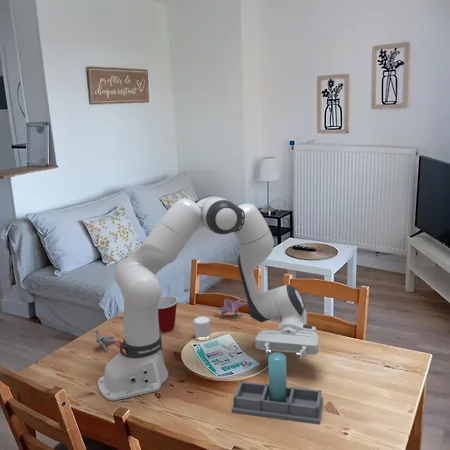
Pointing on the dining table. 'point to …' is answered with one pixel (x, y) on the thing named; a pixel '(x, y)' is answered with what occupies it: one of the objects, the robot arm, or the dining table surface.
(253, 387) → the cup rack
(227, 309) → the lily
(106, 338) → the grey humanoid figurine
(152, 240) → the robot arm
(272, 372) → the teal cylinder
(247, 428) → the dining table surface
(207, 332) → the shot glass
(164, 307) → the plastic cup
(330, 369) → the dining table surface
